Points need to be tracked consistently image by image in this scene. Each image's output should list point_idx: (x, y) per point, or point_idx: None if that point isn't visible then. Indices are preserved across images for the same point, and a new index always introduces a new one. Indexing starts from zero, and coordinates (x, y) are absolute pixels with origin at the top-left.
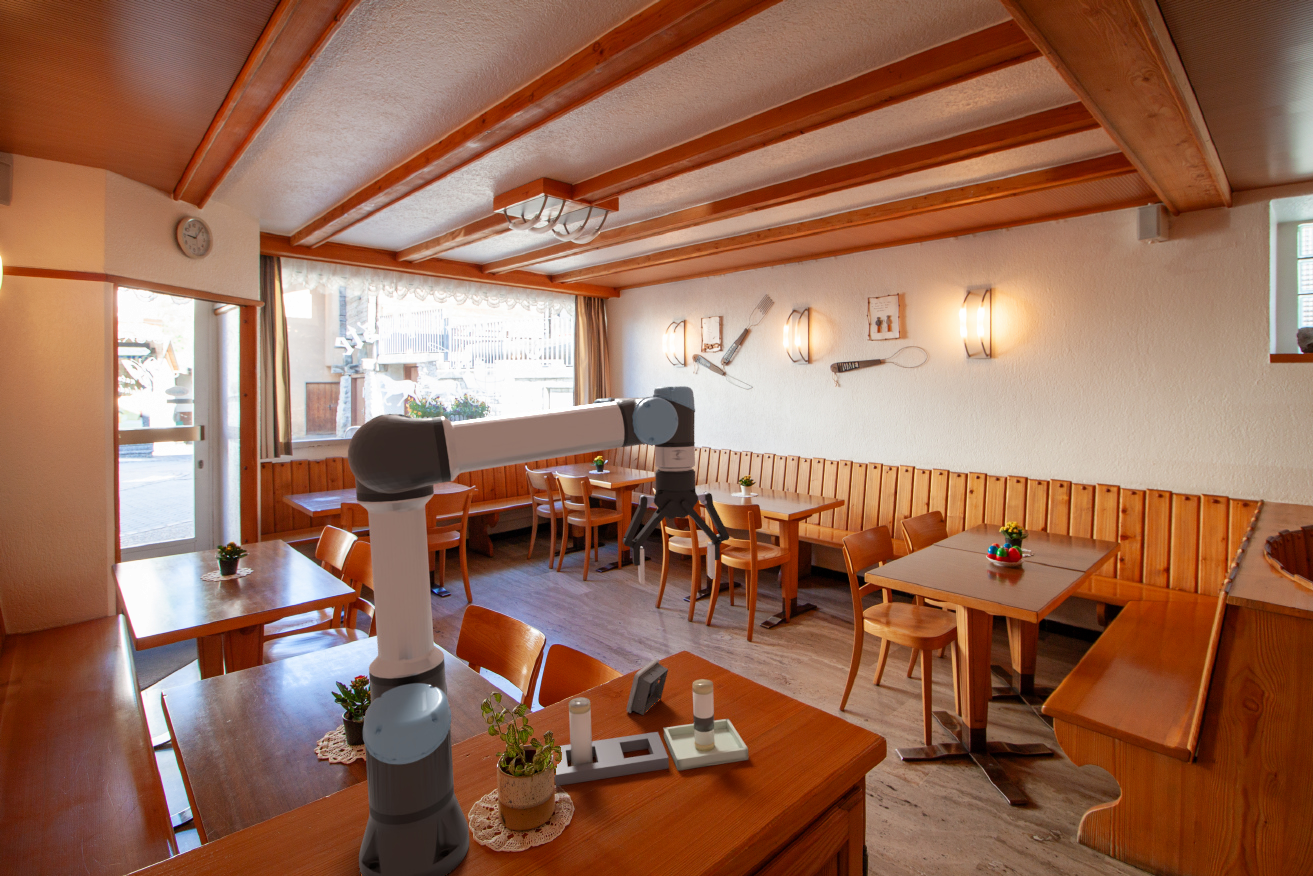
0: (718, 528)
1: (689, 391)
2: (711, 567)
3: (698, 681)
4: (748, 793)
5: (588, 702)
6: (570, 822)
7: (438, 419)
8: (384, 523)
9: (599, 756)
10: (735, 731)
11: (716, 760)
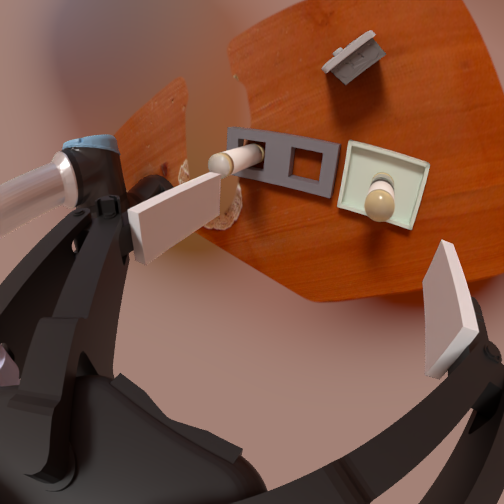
0: (454, 450)
1: None
2: (425, 306)
3: (377, 197)
4: (378, 264)
5: (227, 170)
6: (237, 219)
7: None
8: None
9: (266, 162)
10: (421, 194)
11: None
